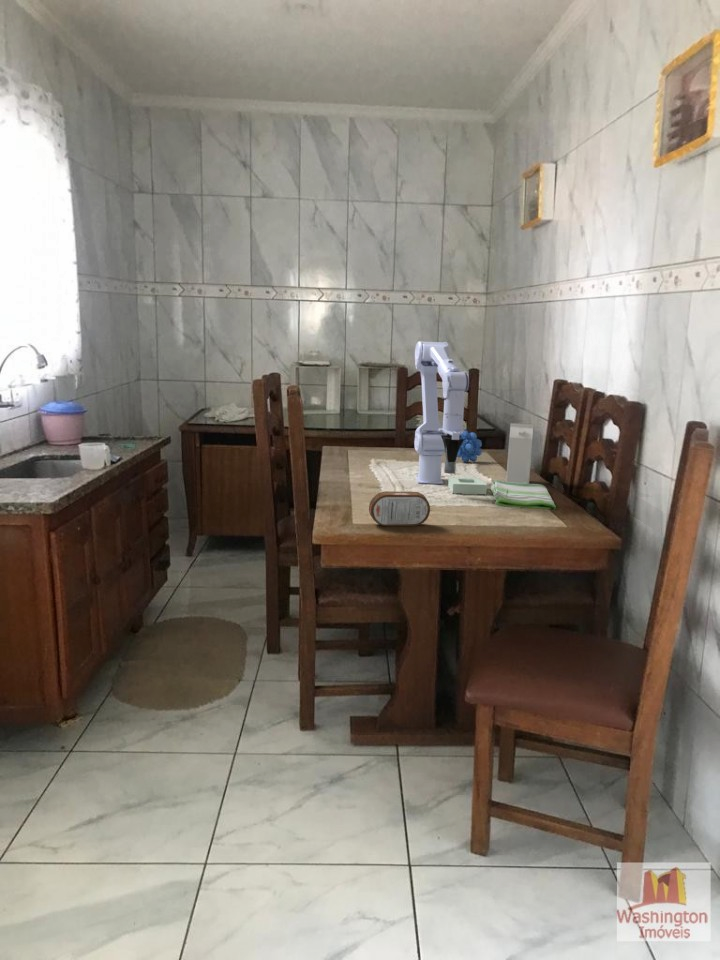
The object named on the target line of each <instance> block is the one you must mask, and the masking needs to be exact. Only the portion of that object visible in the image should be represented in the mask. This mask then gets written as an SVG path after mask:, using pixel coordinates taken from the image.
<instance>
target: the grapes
mask: <svg viewBox="0 0 720 960" xmlns="http://www.w3.org/2000/svg"><path fill="white" fill-rule="evenodd" d="M460 436H461V438H460V439H463V442H462V444H461V446H460V448H459V451H458V454H457V458H461V460H462V462H464V463H469V461H471V462H477V460H478V457H480V456H481V455H482V454H483V451H482V448H481V447H482V445H483V443H482V440H480V439H479V438H477V437H478V436H477V434H476V433H475V432H469V431H468V430H466V429H463V433H462V434H460Z"/></svg>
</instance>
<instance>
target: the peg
mask: <svg viewBox="0 0 720 960" xmlns="http://www.w3.org/2000/svg"><path fill="white" fill-rule="evenodd" d="M444 455H445V456H444V470H443V471H444V474H451V475H452V474H456V467H457V460H456V461H455V462H448V460H447V450H446V452H445V453H444Z"/></svg>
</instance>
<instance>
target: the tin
mask: <svg viewBox="0 0 720 960" xmlns="http://www.w3.org/2000/svg"><path fill="white" fill-rule="evenodd" d="M368 511H369V516H370V517H371V518H372V519H373V521H374V522H375V523H376V524H378V525H379V526H383V527H417V526H420V525H422V524H424V523H425V522H426V521H427V520H428V518H429V516H430V512H431V505H430V503H429V500H428V499H427V497H426V496H425V495H424V494H422V493H421V492H418V491H391V490H390V491H387V490H386V491H382V492H378V493H377V494H375V495H374V496H373V497H372V498H371V500H370V502H369V505H368Z"/></svg>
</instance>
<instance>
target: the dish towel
mask: <svg viewBox="0 0 720 960" xmlns="http://www.w3.org/2000/svg"><path fill="white" fill-rule="evenodd" d="M490 489H491V492H492V495H493V496H495V498H494V501H495V500H496V504H495V505H499V506H498V507H509V506H511V507H510V508H513V507H514V508H524V509H525V508H526V509H527V508H529V509H543V510H546V509H547V510H551V509H552V510H556V509H557V506H556V504H555V502H554V500H553V499H552V495H550V493H549V491H548V488H547V487H546V486H545V485H543V484H540V483H539V484H538V483H529V484H528V483H515V482H506V481H502V480H499V479H495V480H494V481H493V482H492V483H491V484H490Z"/></svg>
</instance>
